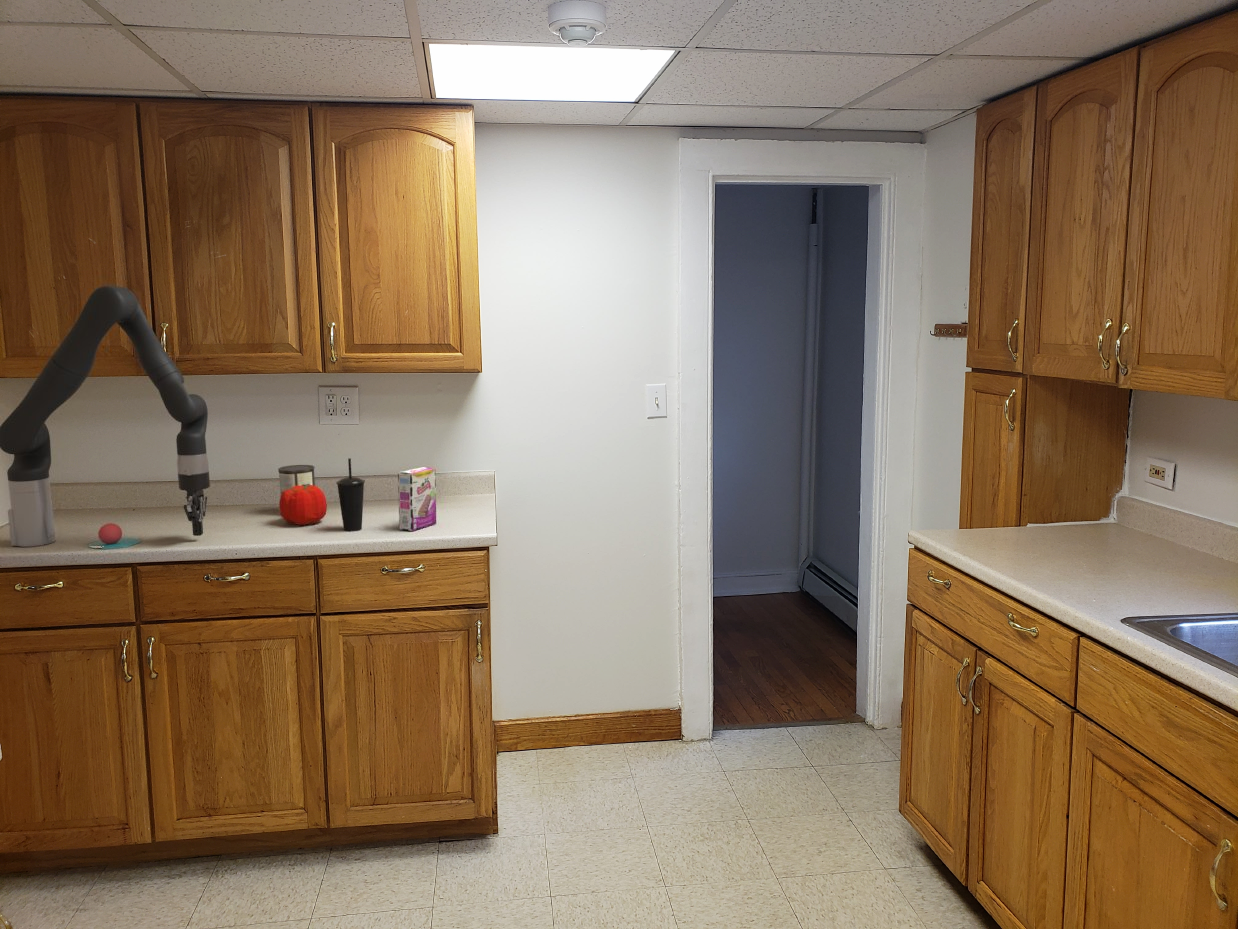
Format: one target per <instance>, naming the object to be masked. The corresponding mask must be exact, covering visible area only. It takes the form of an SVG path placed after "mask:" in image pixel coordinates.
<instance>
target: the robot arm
mask: <svg viewBox="0 0 1238 929" xmlns="http://www.w3.org/2000/svg"><path fill="white" fill-rule="evenodd" d="M115 324H117V326H119V327H120V328H121V329H122V330H123V332H125V334H126V336H128V339H130V341H131V343H132V345H133V347H134V350H135V352H136V354H137V358H138V360H139V363H140V366H141V368H142V369H143V371H144V372H145V374H146V375H147V377H148V378H149V379H150V380H151V381H150V382H152V383H153V385H154V387H156V389H157V390H158V393H159V396H160V397H161V398H160V399H161V400H162V403H163V405H164V407H165V408H166V411H167V412H168V414H169V415H170V416H171V417H172V418H173V419H174V420H175V421H177V422H179V423H180V424H181V425H180V431H179V432H178V433H177V435H176V440H175V441H176V443H175V444H176V454H177V456H176V457H177V459H176V466H177V481H178V489H179V490H181V491H186V496H185V498H184V499H185V500H184V501H185V504H183V509H184V512H185V515H186V518H187V520H188V521H189V522H190V523H191V524H192V525H191V526H192V527H191V528H192V535H193V536H194V537H196V536H197V537H199V536H202V535H203V534H204V524H203V520H204V517H206V509H207V502H208V497H207V496H206V495H205V493H204V490H206V489H209V488H210V487H211V483H210V481H211V480H210V466H209V457H208V454H207V442H206V433H207V425H208V416H209V415H208V414H209V412H208V405H207V403H206V401H205V399H204V398H203V397H202V396H201V395H199V394H195V393H191V394H190V393H188V391H187V390H186V388H185V385H184V383H185V377H184V376H183V374H182V372H181V371H180V370H179V368H178V367H177V365H176V364H175V362H174V361H173V360H172V358H171V357H170V355H169V353H168V352H166V349H165V348H164V347H163V345H162V344H161V342H160V340H159V339H158V336H156V334H155V332H154V330H153V328H152V326H151V325H150V322H149V321H148V318H147V317H146V315H145V313H144V310H143V309H142V306H141V304H140V303H139V300H138V298H137V297H136V295H135V293H133V292H132V291H131V290H130V289H128V288H126V287H124V286H118V285H117V286H116V285H102V286H99V287H98V288H96V289H95V290H93V292H92V293H91V294H90V295H89V297H88V298H87V301H85V304H84V307H83V308H82V310H81V312H80V314H79V316H78V317H77V320H76V321H75V323H74V324H73V326H72V327H71V329H70V330H69V331H68V333H67V334H66V336H65V337H64V338H63V340H62V341H61V343H60V344H59V346H58V347H57V349H56V350H55V351H54V353H53V354H52V355H51V356H50V357H49V360H48V361H47V363H46V364H45V365H44V367H43V368H42V370H41V372H40V373H39V375H38V377H37V378H36V379H35V381H34V382H33V383H32V385H31V387H30V388H29V389H28V391H27V393H26V395H25V396H24V398H23V399H22V401H20V403H19V404H18V405H17V406H16V408H15V409H14V410H13V411H12V412H11V413H10V414H9V416H8V417H7V418H6V419H5V420H4V421H3V422H2V423H1V425H0V450H2V451H3V452H4V453H6V454H9V455H13V461H12V463H11V465H10V467H9V468H8V469H7V472H6V474H7V483H8V492H9V502H10V509H8V510H7V516H8V519H7V520H8V527H9V537H10V545H11V547H12V546H14V547H37V546H43V545H44V544H45V545H49V544H52V543H55V540H56V530H55V520H54V508H53V502H52V491H51V481H50V469H51V466H52V452H51V451H52V450H51V448H52V447H51V436H50V431H49V428H48V427H47V424H46V423H45V422H46V421H47V420H48V418H49V417H50V416H51V415H52V414H53V413H54V412H55V411H56V410H57V409H59V408H60V407H61V406H62V405H63V404H64V403H66V402H67V401H68V400H70V399H71V397H73V396H74V394H75V393H76V392H77V391H79V389H80V388H81V387H82V385H83V383H85V381H86V379H88V377H89V375H90V373H91V371H92V369H93V367H94V364H95V362H96V361H95V360H96V357H97V353H98V348H99V346H100V344H101V342H102V340H103V338H104V337H105V336H106V334H108V332H109V331H110V330H111V329H112V327H113V326H114V325H115Z"/></svg>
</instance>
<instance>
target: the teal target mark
mask: <svg viewBox="0 0 1238 929" xmlns="http://www.w3.org/2000/svg"><path fill="white" fill-rule="evenodd" d="M140 542H141V540H140V538H136V537H121V539H120V540H119V541H118V542H116V543H114V544H105V543H103V542H102V541H101V540H100V539H99V540H97V541H93V542H91V543H89V544H88V546H101V547H102V546H104V547H102V549H101V550H113V548H115V549H122V548H126V547H127V546H128V547H131V546H135V545H137V544H139V543H140ZM110 548H112V549H110Z"/></svg>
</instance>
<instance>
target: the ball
mask: <svg viewBox="0 0 1238 929" xmlns="http://www.w3.org/2000/svg"><path fill="white" fill-rule="evenodd" d="M97 534H98V539H99V541H100V540H101V541H102V542H103V543H105V544H114V543H116V542H118V541H119V540H120V539H121V538H123V530H122V528H121V527H120V526H119V525H118V524H116V523H113V522H111V523H106V524H103V525H102V526H101V527H100V528H99V530H98V532H97Z"/></svg>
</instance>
